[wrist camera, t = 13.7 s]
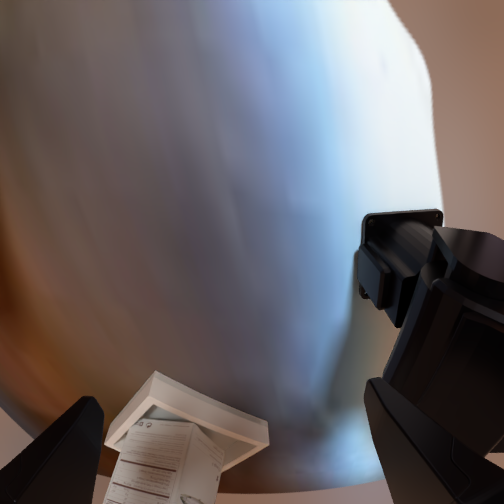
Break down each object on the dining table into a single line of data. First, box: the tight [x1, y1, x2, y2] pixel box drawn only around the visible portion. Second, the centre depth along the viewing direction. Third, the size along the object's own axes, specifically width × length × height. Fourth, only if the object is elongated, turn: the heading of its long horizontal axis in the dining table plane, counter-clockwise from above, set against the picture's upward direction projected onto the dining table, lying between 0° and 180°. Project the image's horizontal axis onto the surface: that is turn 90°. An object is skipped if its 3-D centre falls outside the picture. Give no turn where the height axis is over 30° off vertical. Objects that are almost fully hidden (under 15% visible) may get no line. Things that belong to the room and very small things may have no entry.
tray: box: [104, 371, 269, 472], centre depth 28 cm, size 13×13×3 cm
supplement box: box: [103, 418, 225, 504], centre depth 22 cm, size 7×7×13 cm
